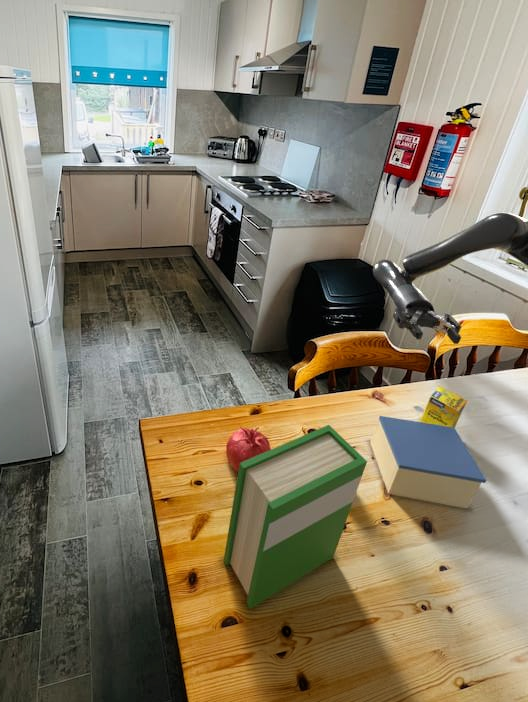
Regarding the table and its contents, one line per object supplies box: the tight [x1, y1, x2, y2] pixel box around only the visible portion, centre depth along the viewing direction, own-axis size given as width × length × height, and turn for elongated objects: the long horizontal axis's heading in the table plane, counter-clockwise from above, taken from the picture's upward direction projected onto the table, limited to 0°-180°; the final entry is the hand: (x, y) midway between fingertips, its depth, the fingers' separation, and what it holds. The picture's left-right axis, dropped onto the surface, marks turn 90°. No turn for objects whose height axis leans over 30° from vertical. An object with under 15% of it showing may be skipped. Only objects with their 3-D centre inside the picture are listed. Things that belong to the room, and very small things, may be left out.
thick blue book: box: [370, 418, 482, 510], centre depth 82 cm, size 15×13×8 cm
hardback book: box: [223, 424, 368, 610], centre depth 63 cm, size 18×7×24 cm, turn 116°
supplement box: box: [419, 385, 468, 429], centre depth 92 cm, size 6×6×11 cm
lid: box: [378, 415, 487, 484], centre depth 80 cm, size 15×13×1 cm
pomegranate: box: [225, 426, 272, 473], centre depth 83 cm, size 10×10×9 cm
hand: (439, 338), depth 95 cm, fingers open, 8 cm apart
